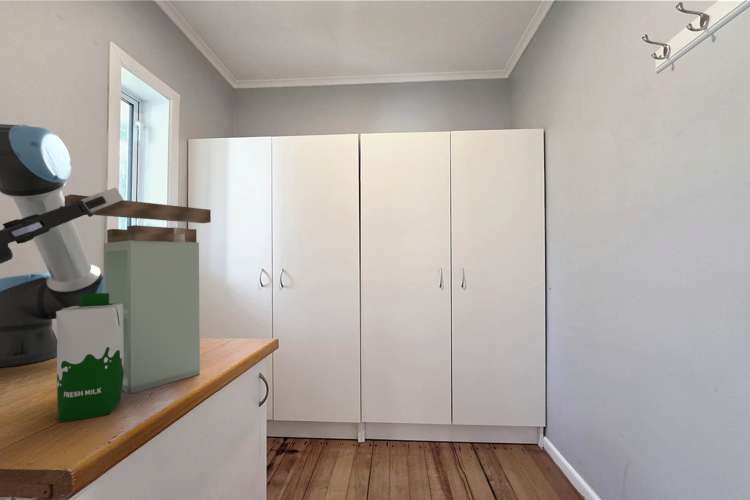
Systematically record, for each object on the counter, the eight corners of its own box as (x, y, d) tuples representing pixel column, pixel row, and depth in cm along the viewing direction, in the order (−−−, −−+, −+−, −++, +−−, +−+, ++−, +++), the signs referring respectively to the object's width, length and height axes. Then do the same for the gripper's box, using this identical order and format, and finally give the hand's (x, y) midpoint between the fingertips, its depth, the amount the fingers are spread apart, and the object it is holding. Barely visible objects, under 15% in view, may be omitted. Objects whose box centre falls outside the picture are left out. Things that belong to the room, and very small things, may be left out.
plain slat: (70, 211, 67) (70, 194, 67) (64, 212, 69) (64, 196, 69) (210, 222, 91) (210, 209, 91) (203, 223, 92) (203, 210, 92)
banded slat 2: (135, 240, 71) (135, 224, 71) (127, 241, 73) (127, 225, 73) (196, 242, 82) (196, 228, 83) (188, 243, 84) (188, 229, 84)
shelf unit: (130, 393, 70) (130, 240, 71) (103, 382, 78) (103, 243, 78) (199, 374, 82) (198, 242, 83) (170, 365, 89) (169, 244, 90)
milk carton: (127, 397, 68) (127, 291, 69) (115, 416, 60) (115, 295, 61) (69, 405, 65) (70, 294, 65) (47, 426, 57) (48, 299, 57)
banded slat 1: (112, 242, 77) (112, 228, 78) (107, 243, 79) (107, 229, 79) (174, 244, 88) (174, 231, 88) (168, 244, 90) (168, 232, 90)
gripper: (-26, 270, 64) (109, 214, 81) (-3, 270, 55) (143, 207, 72) (-58, 232, 61) (88, 183, 78) (-40, 225, 52) (121, 171, 69)
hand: (114, 194), depth 75 cm, fingers closed on plain slat, 3 cm apart
